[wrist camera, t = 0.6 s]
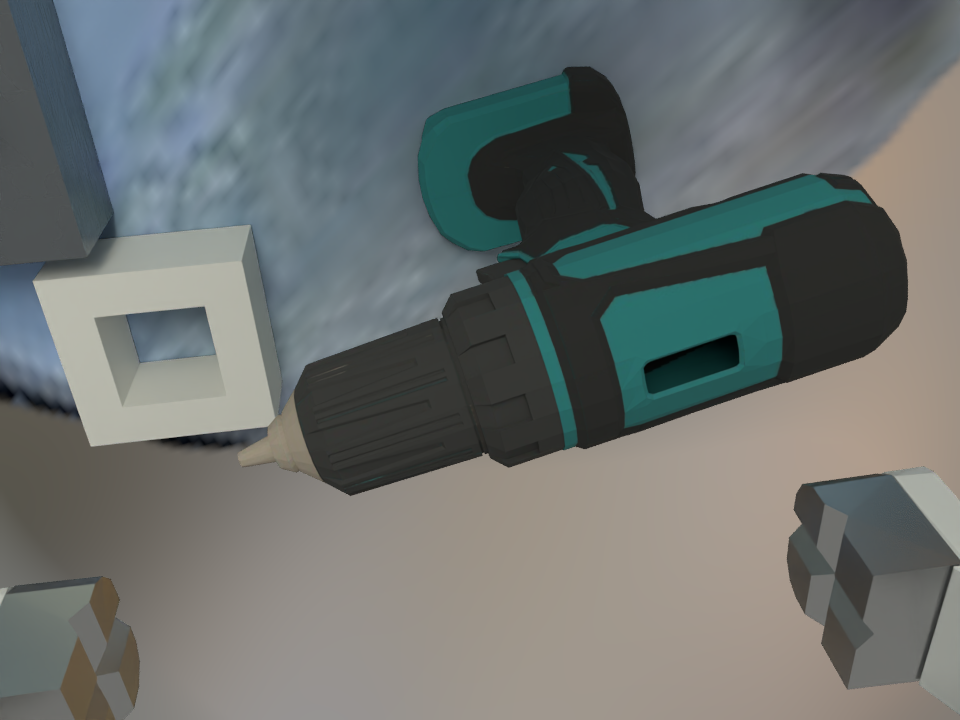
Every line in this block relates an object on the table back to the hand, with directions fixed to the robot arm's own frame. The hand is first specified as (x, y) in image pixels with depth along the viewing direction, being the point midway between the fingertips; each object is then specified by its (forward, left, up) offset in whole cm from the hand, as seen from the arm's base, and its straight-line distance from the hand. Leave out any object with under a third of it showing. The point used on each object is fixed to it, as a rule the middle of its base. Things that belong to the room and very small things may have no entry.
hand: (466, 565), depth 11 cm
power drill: (+11, +6, -43) cm, 45 cm away
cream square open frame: (+18, -14, -43) cm, 49 cm away
